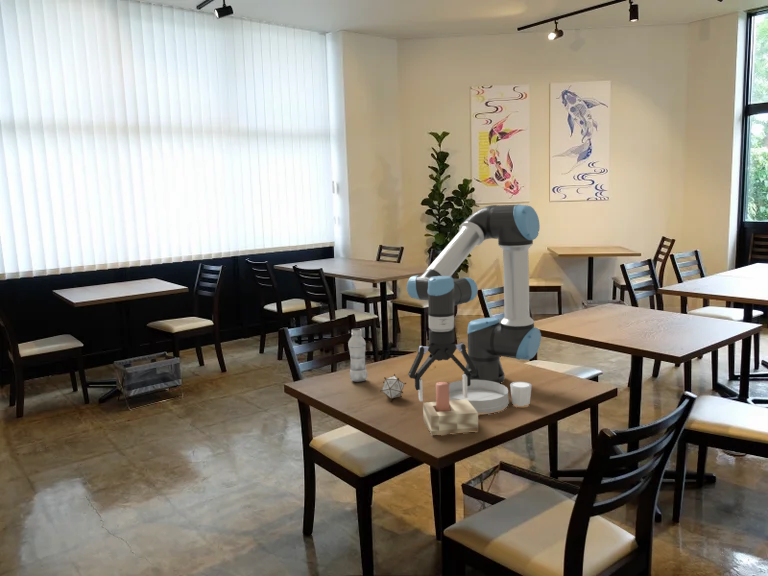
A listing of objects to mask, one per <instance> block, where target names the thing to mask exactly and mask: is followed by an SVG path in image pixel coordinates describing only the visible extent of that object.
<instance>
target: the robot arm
mask: <svg viewBox="0 0 768 576" xmlns="http://www.w3.org/2000/svg"><path fill="white" fill-rule="evenodd" d="M539 218H540V217H539V216H538V213H537V211H535V208H534V207H532V206H531V205H528V204H503V205H502V204H499V205H498V204H495V205H494V204H491V205H487V206H484V207H482V208H480V209H478V210H476V211H475V212H473V213H472V214H471V215H469V216H468V217H467V218H466V219H465V220H464V221H463V222H462V223H461V224H460V226H459V229H458V232H457V234H456V235H455V236H454V237H453V238H452V239H451V240H450V242H449V243H448V244H447V245H446V246H445V247H444V249H442V251H441V252H440V253H439V254H438V255H437V256H436V257H435V259H434V260H433V261H432V263H430V264H429V266H428V267H427V268H426V270H425V271H423V273H422V274H421V275H419V274H417V275H412V276H410V277H409V278H408V280H407V281H406V292H407V294H408V296H409V297H410V298H412V299H416V300H419V301H428V303H427V304H428V328H429V330H428V346H423V345H421V344H420V345H418V350H417V354H416V356H415V359H414V361H413V363H412V365H411V367H410V369H409V370H408V371H409V372H408V373H407V375H408V377H409V378H410V379H414V389H415V390H416V391H418V392H417V393H418V400H419V402H424V399H423V398H424V396H423V395H424V393H423V391H424V390H423V379H422V377H423V375H424V374H425V373H426V371H427V370H428V369H429V368H430V366H431V365H432V364H433V363H434V362H436V361H449V360H450V359H451V360H452V361H453V362H454V364H456V365H457V366H458V367H459V368H460V370H462V372H463V374H462V380H463V396H464V397H465V398H468V394H467V386H470V384H471V381H470V380H487V381H493V382H497V383H501V382H503V381H504V379H505V375H506V374H505V371H504V369H503V366H502V363H501V359H500V358H501V357H504V358H511V359H516V360H523V361H524V360H525V361H528V360H532V359H533V358H534V357H535V356H536V354H537V353H538V352H539V348H540V346H541V340H542V333H541V331H540V330H541V329H539V328H538V327H536V326H535V321H534V319H533V318H532V317H531V315H530V273H529V272H530V271H529V270H530V267H529V250H530V248H531V247H532V246H533V244H534V243H533V242H534V240H536V239H537V238H538V236H539V232H540V219H539ZM490 239H496V240H498V241H497V243H498V244H497V245H498V247H500V248H501V250H502V263H503V266H502V267H503V298H504V299H503V300H504V301H503V302H504V303H503V308H504V309H503V310H504V315H503V318H502V319H501V320H500V318H498V317H483V318H478V319H474V320H473V319H472V320H470V322H468V324H467V332H466V333H467V347H466V344H465V343H464V342H459V344H457V343H456V341H455V337H456V336H455V334H456V333H455V329H454V328H455V306H458V305H462V304H467V303H469V302H471V301H473V300H475V298H476V297H477V295H478V292H479V291H478V290H479V289H478V285H477V283H476V281H475V280H474V279H472V278H471V277H460V278H453V276H452V275H453V274H454V273H455V271H457V270H458V268H459V267H461V264H462V263H463V262H464V261H465V260H466V259H467V257H468V256H469V255H470V253H471V252H472V251H473V250H474V248H475V247H477V246H480V245H482V243H484V241H486V240H490ZM466 348H467V349H466ZM456 350H457V351H459V352H460V353H461V355H462V357H463V358H464V361H465V362H466V365H464V364H463V363H462V362H461V361H460V360H459V359H458V358H457V356H455V354H454V353H455V352H456ZM427 352H429V355H428V356H427V358H426V359H425V361H424V362H423V363H422V365H421V366H420V364H421V362H422V361H423V357H424V355H425V354H426V353H427ZM419 366H420V367H419ZM505 380H506V379H505ZM504 382H505V381H504ZM504 382H503V383H504ZM501 384H502V383H501Z"/></svg>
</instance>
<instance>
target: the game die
mask: <svg viewBox="0 0 768 576" xmlns="http://www.w3.org/2000/svg"><path fill="white" fill-rule="evenodd" d="M383 379H384V381H382V383H383V385H382V387H381V389H380V390H379V393H381V392H382V393H384V395H386V397H389V399H390V402H392V401H393V399H395V398H398V397H400V398H402V397H403V395H402V394H404V391H403V390H404V385H406V384H407V382H403V381H402V380H401V379H400V377H397V376H396V373H394V374H393V376H390V377H383Z"/></svg>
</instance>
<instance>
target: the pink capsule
mask: <svg viewBox="0 0 768 576" xmlns="http://www.w3.org/2000/svg"><path fill="white" fill-rule="evenodd" d="M449 383H450V382H447V381H440V382H436V383H435V402H436V412H443V411H450V402H449Z"/></svg>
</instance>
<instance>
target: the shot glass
mask: <svg viewBox="0 0 768 576" xmlns="http://www.w3.org/2000/svg"><path fill="white" fill-rule="evenodd" d="M532 386H533V385H532V383H530V382H527V381H513V382H511V383H510V384H509V387H510V394H511V397H510V398H511V405H512V404H514V405H518V406H524V405H528V404H531V398H532V397H531V395H532V388H533V387H532Z"/></svg>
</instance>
